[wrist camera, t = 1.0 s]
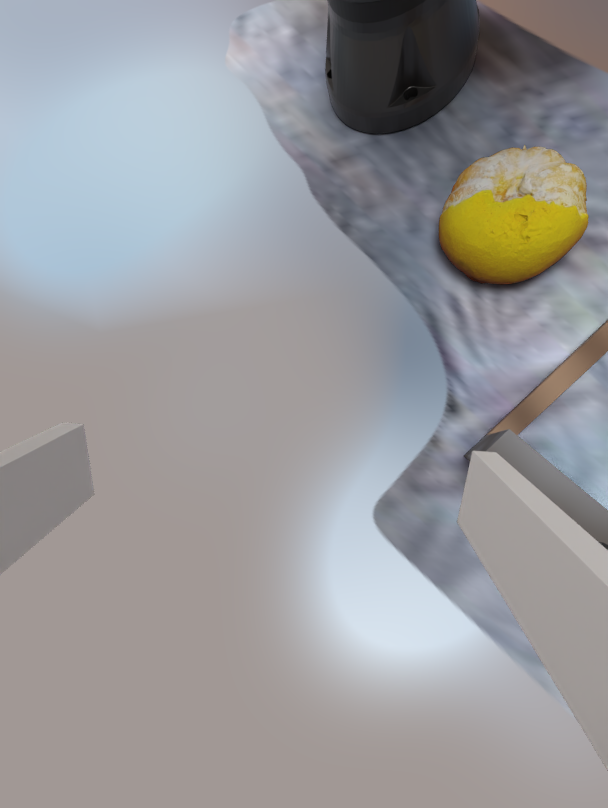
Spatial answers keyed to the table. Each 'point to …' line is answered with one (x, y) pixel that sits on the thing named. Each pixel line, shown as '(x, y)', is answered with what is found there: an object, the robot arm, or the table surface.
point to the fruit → (513, 215)
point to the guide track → (536, 467)
